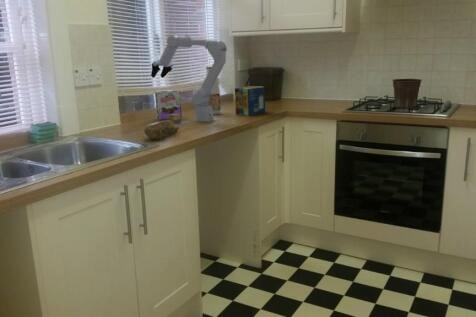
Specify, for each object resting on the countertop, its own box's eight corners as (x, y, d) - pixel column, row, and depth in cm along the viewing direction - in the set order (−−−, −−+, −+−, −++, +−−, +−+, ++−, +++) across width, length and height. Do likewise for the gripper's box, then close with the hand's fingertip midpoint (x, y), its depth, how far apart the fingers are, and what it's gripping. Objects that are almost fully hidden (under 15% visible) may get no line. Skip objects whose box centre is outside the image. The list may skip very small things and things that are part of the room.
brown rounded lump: (163, 135, 217) (132, 134, 201) (166, 119, 216) (136, 117, 199) (183, 142, 211) (153, 142, 194) (187, 126, 209) (157, 124, 193)
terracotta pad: (174, 121, 244) (174, 120, 244) (167, 122, 240) (167, 122, 240) (166, 120, 248) (166, 120, 248) (158, 122, 243) (158, 121, 243)
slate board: (191, 123, 241) (191, 121, 241) (168, 128, 226) (168, 127, 226) (168, 121, 250) (168, 120, 249) (145, 126, 235) (145, 125, 235)
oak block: (181, 122, 240) (180, 113, 239) (175, 123, 236) (175, 115, 235) (174, 121, 242) (174, 113, 241) (169, 123, 239) (168, 114, 237)
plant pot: (424, 108, 256) (426, 80, 252) (396, 109, 256) (397, 81, 252) (414, 105, 272) (415, 78, 268) (387, 106, 272) (388, 79, 268)
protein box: (235, 114, 264) (234, 88, 261) (253, 111, 275) (252, 85, 271) (248, 116, 257) (247, 88, 254) (266, 112, 268) (265, 86, 264)
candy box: (157, 121, 253) (155, 91, 249) (156, 119, 258) (154, 90, 254) (182, 119, 256) (179, 90, 252) (180, 117, 262) (178, 89, 258)
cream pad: (164, 123, 238) (164, 122, 238) (156, 125, 233) (156, 124, 233) (156, 122, 241) (156, 122, 241) (148, 124, 236) (148, 124, 236)
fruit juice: (202, 113, 273) (199, 67, 266) (215, 112, 278) (213, 66, 271) (210, 115, 265) (207, 67, 258) (223, 113, 270) (221, 66, 263)
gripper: (171, 52, 251) (161, 73, 256) (153, 50, 238) (143, 72, 244) (179, 59, 248) (169, 80, 254) (162, 58, 236) (151, 79, 242)
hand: (157, 76), depth 249 cm, fingers open, 7 cm apart
